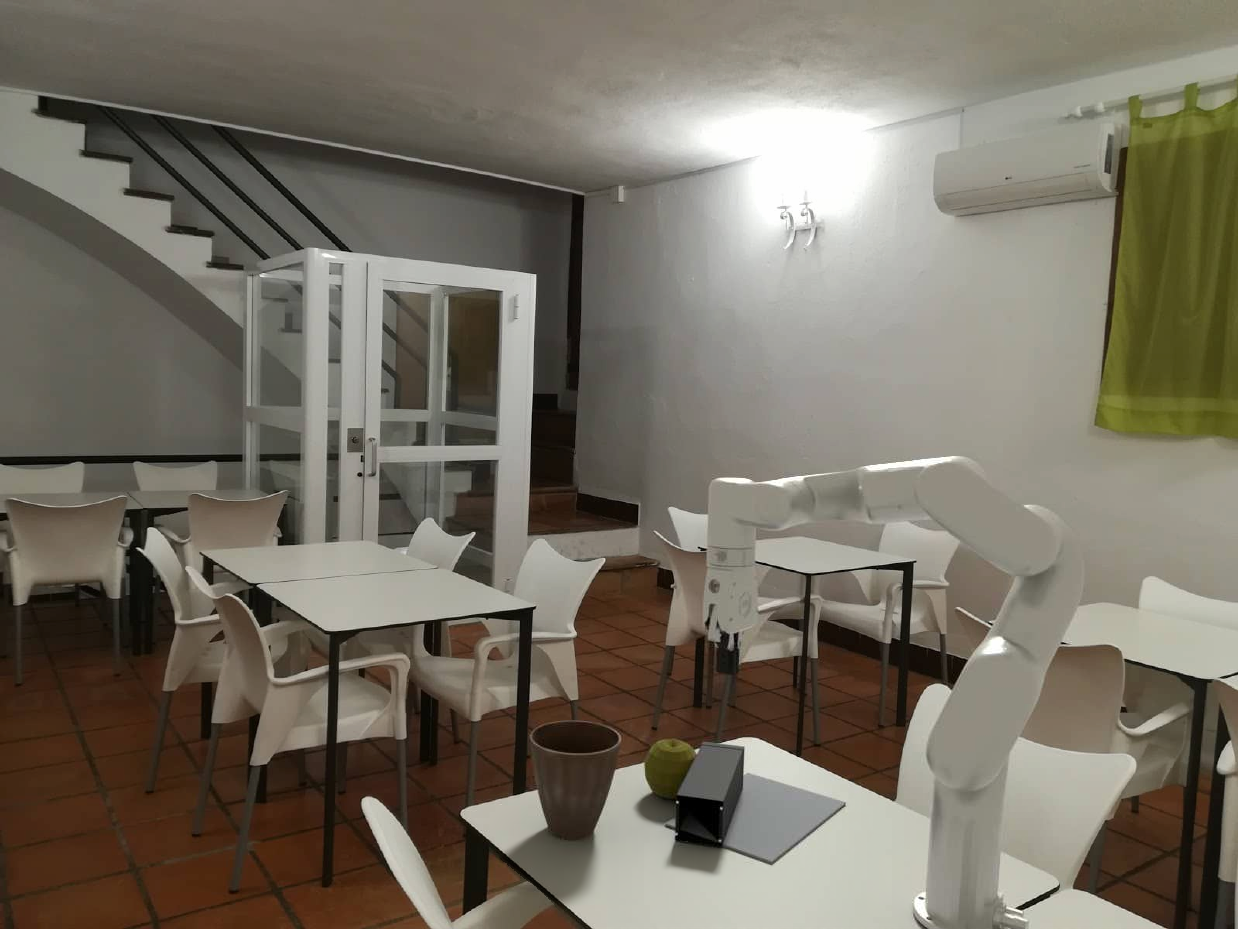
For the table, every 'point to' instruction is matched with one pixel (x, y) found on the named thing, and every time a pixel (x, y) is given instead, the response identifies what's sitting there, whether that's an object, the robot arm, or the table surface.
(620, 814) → the table surface
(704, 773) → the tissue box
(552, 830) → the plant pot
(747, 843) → the mat
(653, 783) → the apple
